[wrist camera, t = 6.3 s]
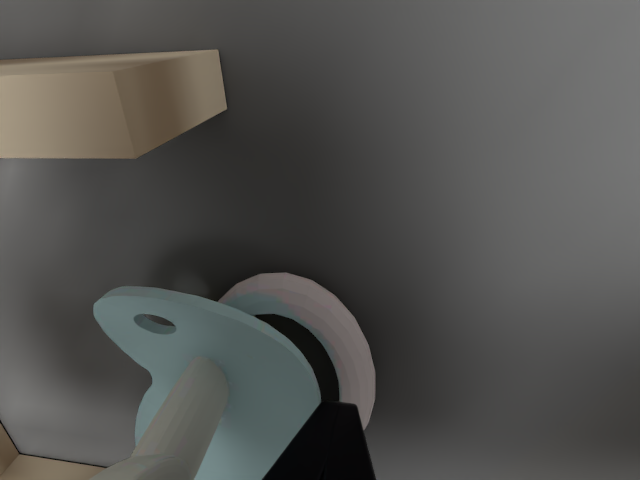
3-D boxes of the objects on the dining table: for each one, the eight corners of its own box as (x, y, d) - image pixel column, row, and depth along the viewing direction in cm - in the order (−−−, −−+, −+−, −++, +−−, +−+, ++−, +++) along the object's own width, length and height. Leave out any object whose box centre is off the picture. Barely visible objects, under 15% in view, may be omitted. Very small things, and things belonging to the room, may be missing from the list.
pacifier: (392, 252, 9) (123, 224, 9) (392, 647, 3) (-239, 515, 4) (364, 467, 12) (170, 436, 13) (342, 830, 7) (10, 742, 8)
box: (218, 49, 7) (113, 71, 5) (289, 514, 14) (261, 630, 11) (-248, 71, 9) (-501, 94, 7) (7, 467, 16) (-71, 556, 13)
